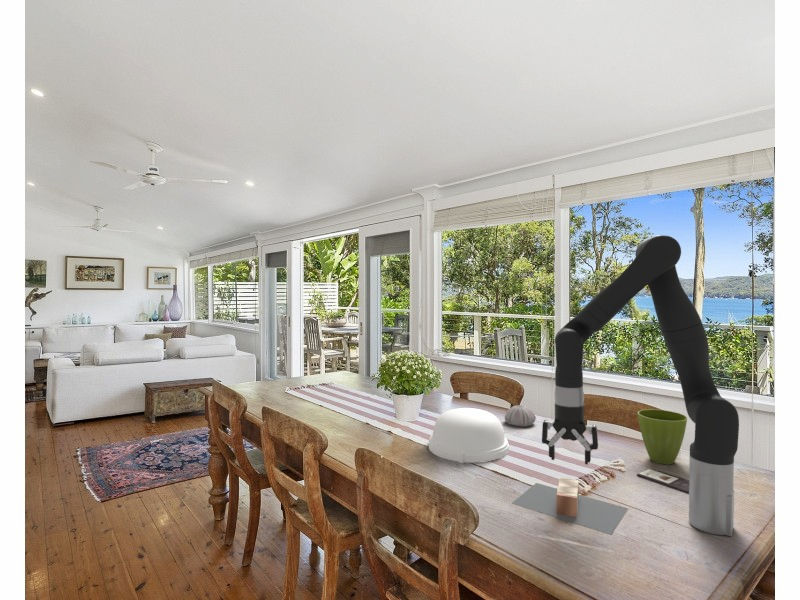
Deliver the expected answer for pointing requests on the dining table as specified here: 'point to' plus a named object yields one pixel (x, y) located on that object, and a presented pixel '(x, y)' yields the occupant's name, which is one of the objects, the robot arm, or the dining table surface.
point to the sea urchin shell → (520, 416)
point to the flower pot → (662, 434)
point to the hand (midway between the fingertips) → (569, 461)
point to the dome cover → (468, 436)
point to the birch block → (567, 497)
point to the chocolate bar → (666, 479)
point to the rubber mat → (588, 510)
